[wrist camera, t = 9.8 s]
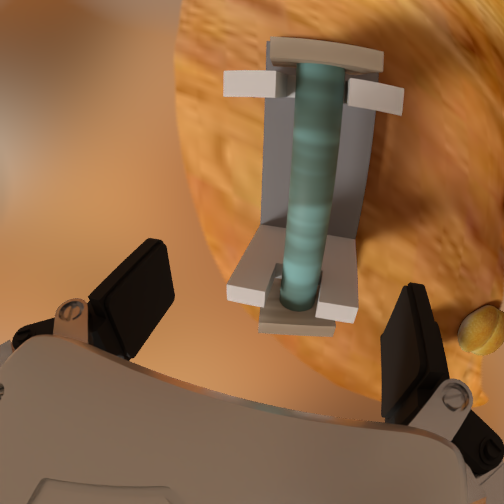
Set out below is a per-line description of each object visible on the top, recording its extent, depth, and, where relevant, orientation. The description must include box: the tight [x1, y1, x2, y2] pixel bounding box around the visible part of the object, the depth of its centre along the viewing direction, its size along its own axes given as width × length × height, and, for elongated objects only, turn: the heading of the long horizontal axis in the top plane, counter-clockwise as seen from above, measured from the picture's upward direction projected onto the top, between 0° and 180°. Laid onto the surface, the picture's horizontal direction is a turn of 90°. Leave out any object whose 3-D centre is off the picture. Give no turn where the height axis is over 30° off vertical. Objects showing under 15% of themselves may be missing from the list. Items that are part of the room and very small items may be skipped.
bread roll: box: [458, 305, 504, 356], centre depth 29 cm, size 8×9×4 cm
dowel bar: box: [258, 37, 384, 337], centre depth 19 cm, size 20×6×6 cm, turn 179°
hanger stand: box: [224, 41, 404, 323], centre depth 22 cm, size 24×10×12 cm, turn 179°
